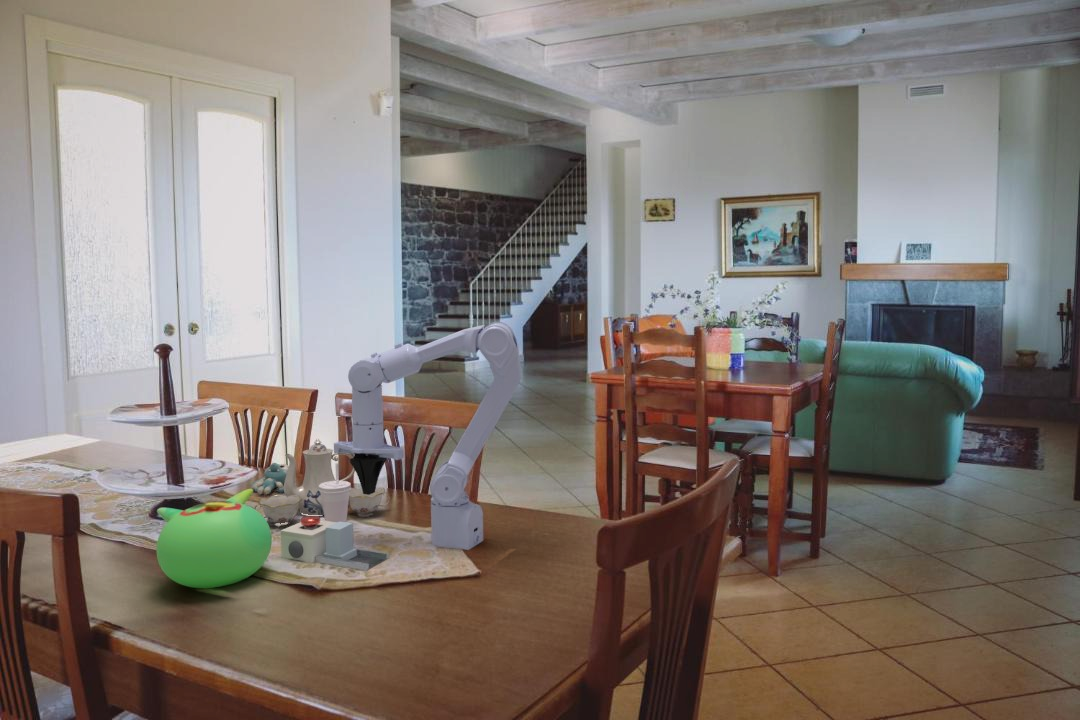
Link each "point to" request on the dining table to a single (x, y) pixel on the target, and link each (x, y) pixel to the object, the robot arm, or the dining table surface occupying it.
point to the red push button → (310, 522)
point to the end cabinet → (304, 542)
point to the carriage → (340, 541)
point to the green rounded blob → (213, 542)
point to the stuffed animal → (272, 479)
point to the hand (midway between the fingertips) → (369, 493)
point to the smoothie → (335, 499)
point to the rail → (355, 563)
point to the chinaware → (315, 489)
